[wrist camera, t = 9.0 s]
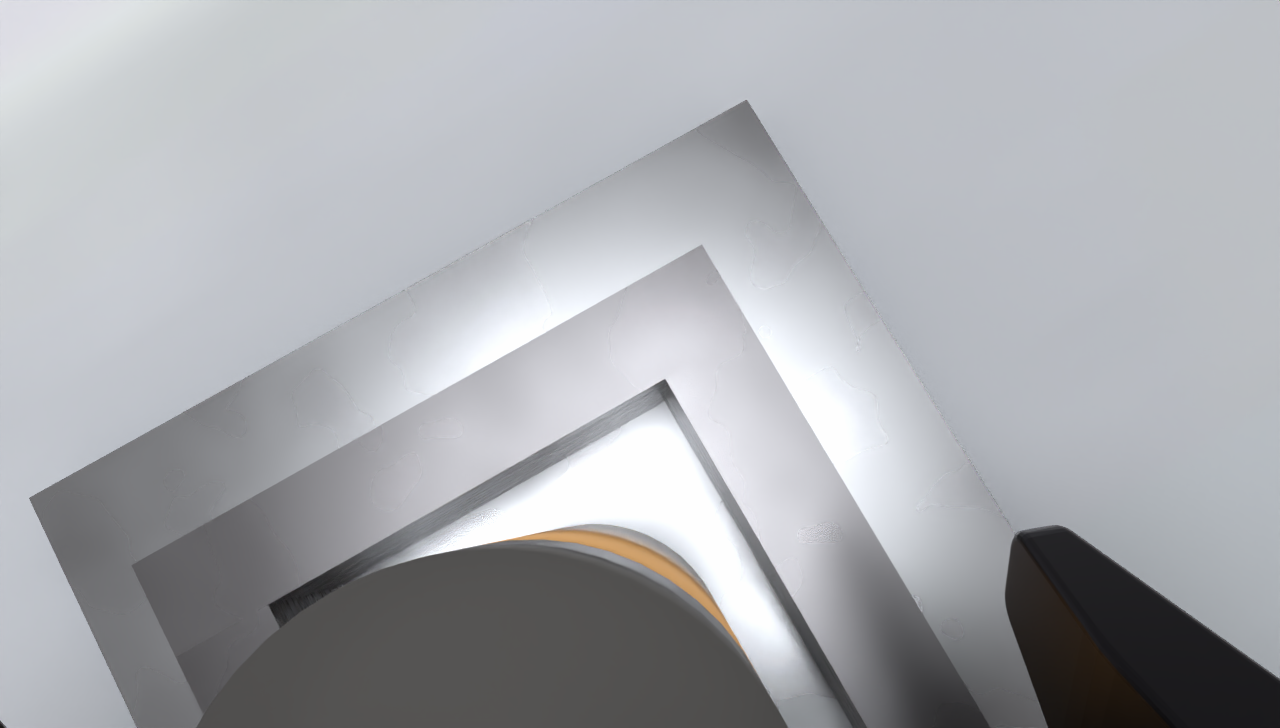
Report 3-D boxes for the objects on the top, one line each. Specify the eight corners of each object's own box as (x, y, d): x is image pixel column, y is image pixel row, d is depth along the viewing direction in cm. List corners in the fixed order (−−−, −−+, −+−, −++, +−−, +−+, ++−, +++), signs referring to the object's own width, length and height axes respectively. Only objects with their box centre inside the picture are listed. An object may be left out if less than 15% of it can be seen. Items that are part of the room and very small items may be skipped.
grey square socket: (1169, 815, 17) (1328, 912, 13) (431, 1267, 16) (354, 1520, 12) (742, 121, 18) (764, 17, 15) (64, 498, 18) (-108, 496, 14)
